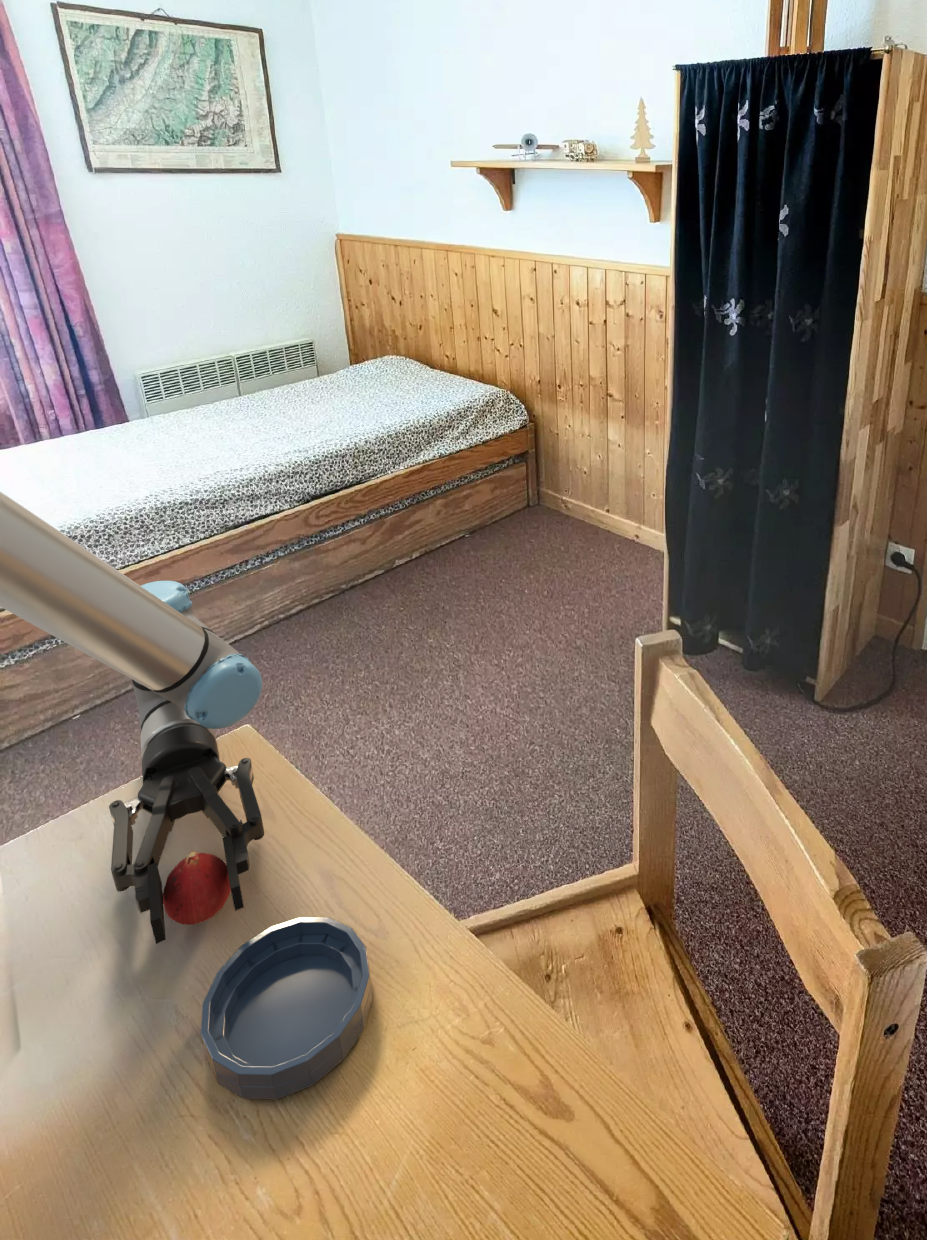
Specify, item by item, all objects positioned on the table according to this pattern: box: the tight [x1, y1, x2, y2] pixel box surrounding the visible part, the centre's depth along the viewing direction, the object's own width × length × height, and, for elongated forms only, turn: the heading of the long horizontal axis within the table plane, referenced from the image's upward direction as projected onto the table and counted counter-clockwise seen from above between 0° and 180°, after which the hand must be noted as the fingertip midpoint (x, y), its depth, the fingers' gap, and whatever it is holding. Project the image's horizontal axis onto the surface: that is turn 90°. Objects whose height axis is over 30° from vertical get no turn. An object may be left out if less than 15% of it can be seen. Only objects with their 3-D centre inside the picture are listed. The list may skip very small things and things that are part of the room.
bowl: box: [200, 916, 374, 1100], centre depth 67 cm, size 13×13×4 cm
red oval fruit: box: [162, 851, 232, 926], centre depth 75 cm, size 6×6×8 cm
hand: (198, 913), depth 70 cm, fingers closed on red oval fruit, 6 cm apart
